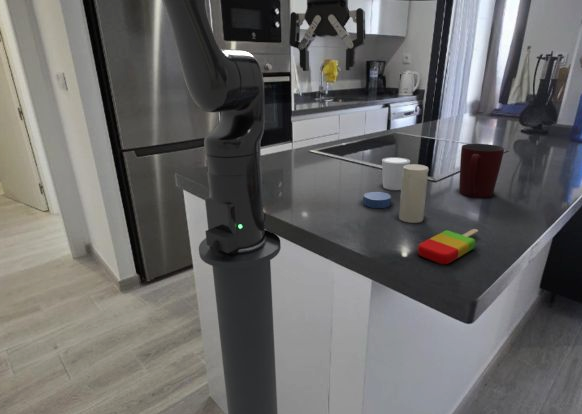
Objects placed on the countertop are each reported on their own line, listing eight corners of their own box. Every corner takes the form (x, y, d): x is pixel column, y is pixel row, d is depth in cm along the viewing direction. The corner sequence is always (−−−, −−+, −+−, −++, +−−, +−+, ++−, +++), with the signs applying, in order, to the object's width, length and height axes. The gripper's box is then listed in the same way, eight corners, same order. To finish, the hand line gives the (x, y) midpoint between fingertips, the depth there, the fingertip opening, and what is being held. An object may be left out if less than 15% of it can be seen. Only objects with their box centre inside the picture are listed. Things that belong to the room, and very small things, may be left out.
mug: (488, 205, 83) (497, 155, 79) (447, 198, 88) (453, 150, 84) (499, 191, 92) (507, 146, 88) (461, 185, 97) (467, 142, 93)
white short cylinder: (393, 192, 92) (396, 164, 90) (374, 185, 98) (376, 159, 95) (413, 187, 96) (416, 160, 93) (394, 181, 101) (396, 155, 99)
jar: (418, 224, 73) (423, 171, 70) (394, 219, 76) (398, 167, 72) (427, 217, 77) (432, 166, 73) (404, 212, 80) (408, 163, 76)
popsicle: (414, 254, 62) (415, 244, 61) (461, 230, 71) (462, 220, 70) (445, 267, 58) (446, 256, 57) (490, 239, 67) (492, 229, 66)
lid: (374, 197, 89) (374, 189, 88) (396, 203, 85) (396, 195, 84) (357, 203, 85) (358, 195, 84) (379, 210, 81) (379, 202, 80)
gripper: (370, -24, 70) (366, 70, 75) (296, -18, 74) (298, 70, 79) (363, -34, 63) (359, 70, 69) (283, -27, 67) (285, 71, 73)
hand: (326, 70), depth 74 cm, fingers open, 8 cm apart
